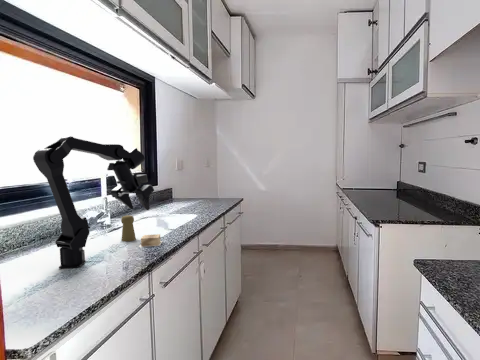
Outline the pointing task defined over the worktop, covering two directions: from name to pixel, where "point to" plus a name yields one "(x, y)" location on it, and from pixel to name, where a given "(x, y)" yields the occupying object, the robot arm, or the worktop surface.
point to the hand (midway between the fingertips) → (140, 209)
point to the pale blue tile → (154, 245)
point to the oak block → (150, 240)
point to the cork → (128, 228)
